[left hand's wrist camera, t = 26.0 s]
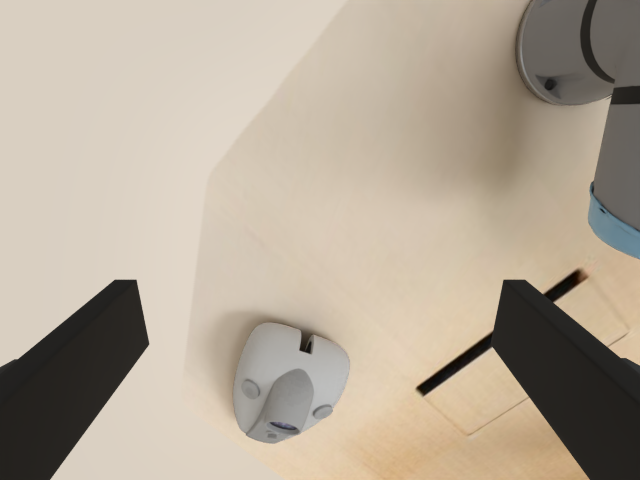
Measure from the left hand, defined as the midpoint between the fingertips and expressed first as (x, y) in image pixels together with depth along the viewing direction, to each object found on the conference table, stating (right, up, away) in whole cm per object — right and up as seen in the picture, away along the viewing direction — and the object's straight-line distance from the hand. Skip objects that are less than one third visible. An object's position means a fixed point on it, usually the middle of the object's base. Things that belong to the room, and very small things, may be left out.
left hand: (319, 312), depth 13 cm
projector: (-6, -20, +47) cm, 51 cm away
